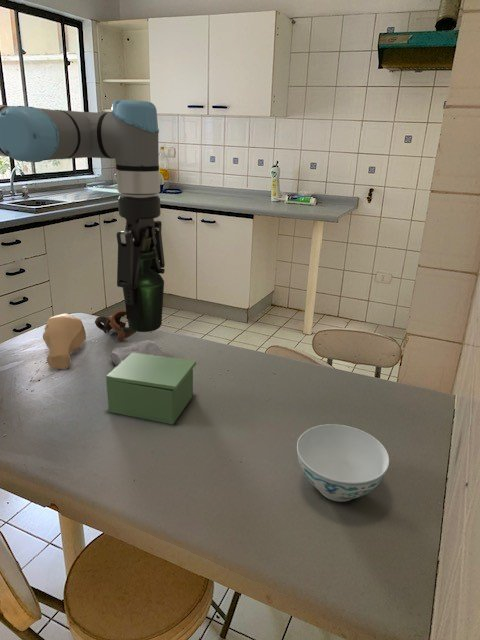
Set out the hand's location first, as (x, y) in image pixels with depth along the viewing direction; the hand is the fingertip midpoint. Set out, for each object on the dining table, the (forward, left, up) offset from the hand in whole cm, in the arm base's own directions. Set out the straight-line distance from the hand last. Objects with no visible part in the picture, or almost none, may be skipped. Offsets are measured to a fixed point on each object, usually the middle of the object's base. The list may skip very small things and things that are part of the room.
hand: (144, 311), depth 92 cm
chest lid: (+1, +1, -14) cm, 14 cm away
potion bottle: (0, 0, -3) cm, 3 cm away
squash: (-32, +16, -22) cm, 42 cm away
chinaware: (+41, -13, -22) cm, 49 cm away
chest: (0, +1, -22) cm, 22 cm away
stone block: (-11, +17, -22) cm, 30 cm away
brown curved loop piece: (-25, +31, -22) cm, 45 cm away
